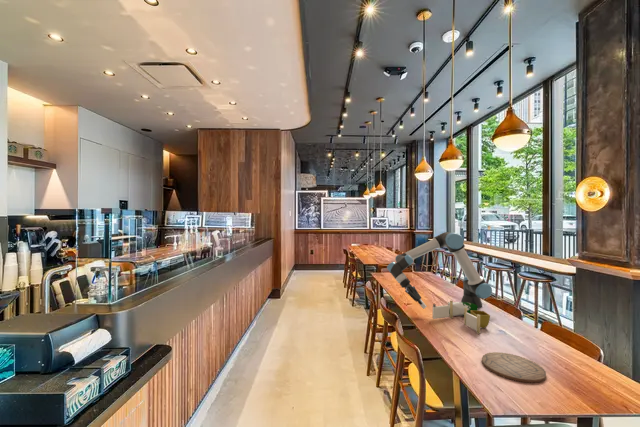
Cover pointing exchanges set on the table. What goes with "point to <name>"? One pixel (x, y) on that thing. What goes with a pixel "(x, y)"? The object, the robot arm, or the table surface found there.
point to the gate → (440, 311)
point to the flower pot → (482, 318)
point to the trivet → (514, 367)
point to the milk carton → (462, 308)
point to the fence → (468, 319)
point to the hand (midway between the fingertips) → (425, 307)
